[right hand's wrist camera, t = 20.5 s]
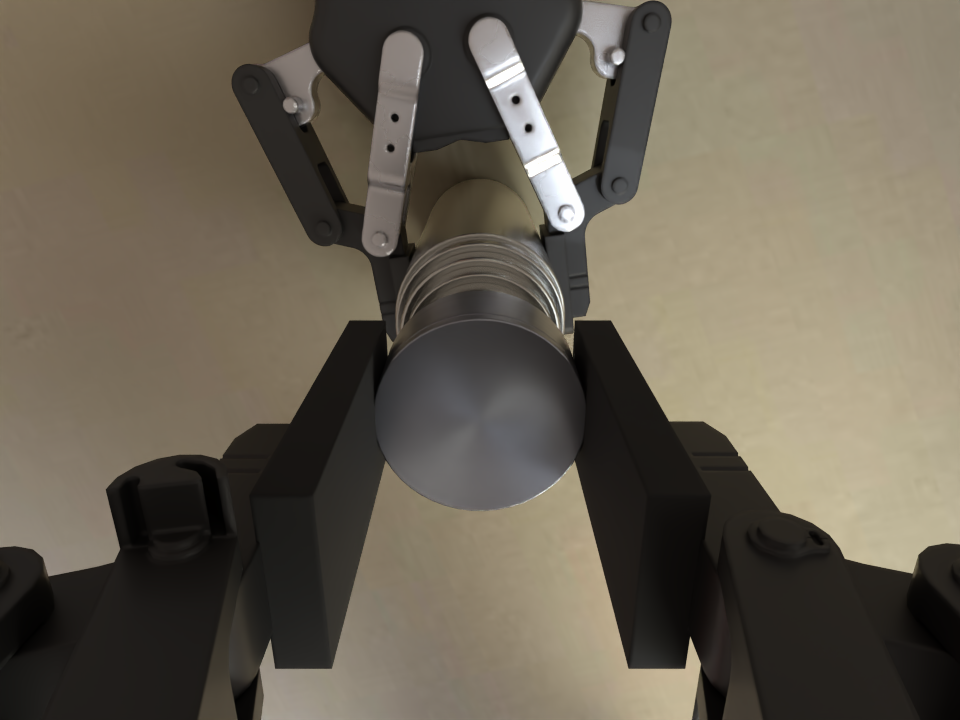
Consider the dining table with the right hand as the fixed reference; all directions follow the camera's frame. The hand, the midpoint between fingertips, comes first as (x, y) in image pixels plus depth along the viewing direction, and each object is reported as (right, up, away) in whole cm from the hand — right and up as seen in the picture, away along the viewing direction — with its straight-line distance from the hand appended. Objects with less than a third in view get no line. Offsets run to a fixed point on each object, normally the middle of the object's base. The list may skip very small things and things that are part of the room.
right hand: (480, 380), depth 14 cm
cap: (0, -1, -1) cm, 2 cm away
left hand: (0, +1, +10) cm, 10 cm away
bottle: (0, +6, +15) cm, 16 cm away
